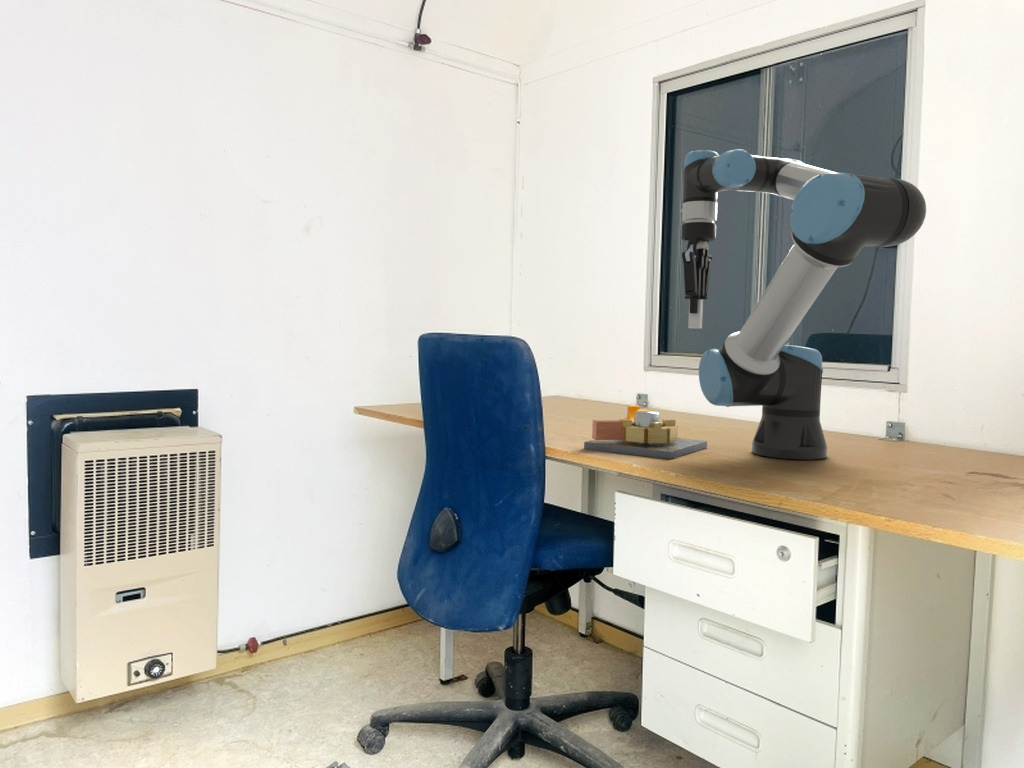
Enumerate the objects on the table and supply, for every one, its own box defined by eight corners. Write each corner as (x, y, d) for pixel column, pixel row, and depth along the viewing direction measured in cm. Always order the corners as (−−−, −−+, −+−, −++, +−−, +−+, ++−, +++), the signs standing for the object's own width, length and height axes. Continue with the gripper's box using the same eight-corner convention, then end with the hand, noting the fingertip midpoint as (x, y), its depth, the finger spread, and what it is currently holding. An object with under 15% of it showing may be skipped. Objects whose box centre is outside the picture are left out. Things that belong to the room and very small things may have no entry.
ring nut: (662, 434, 183) (663, 416, 183) (684, 442, 171) (685, 423, 171) (585, 435, 180) (586, 416, 179) (602, 443, 168) (603, 423, 167)
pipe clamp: (620, 430, 207) (620, 405, 206) (636, 430, 207) (637, 405, 207) (629, 437, 195) (630, 410, 194) (647, 437, 195) (648, 410, 195)
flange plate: (707, 447, 179) (708, 412, 178) (670, 459, 162) (672, 419, 162) (625, 438, 190) (626, 405, 189) (584, 448, 173) (585, 411, 173)
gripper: (694, 226, 188) (690, 328, 190) (671, 220, 177) (667, 327, 179) (725, 225, 184) (721, 328, 185) (704, 218, 173) (700, 328, 175)
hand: (695, 328), depth 182 cm, fingers closed
